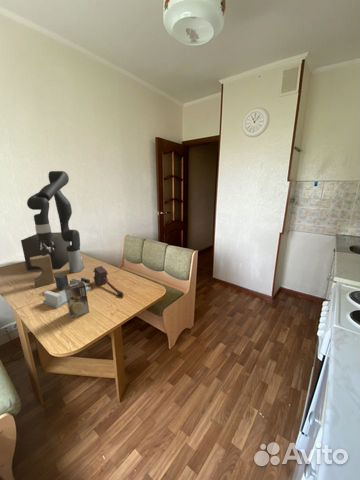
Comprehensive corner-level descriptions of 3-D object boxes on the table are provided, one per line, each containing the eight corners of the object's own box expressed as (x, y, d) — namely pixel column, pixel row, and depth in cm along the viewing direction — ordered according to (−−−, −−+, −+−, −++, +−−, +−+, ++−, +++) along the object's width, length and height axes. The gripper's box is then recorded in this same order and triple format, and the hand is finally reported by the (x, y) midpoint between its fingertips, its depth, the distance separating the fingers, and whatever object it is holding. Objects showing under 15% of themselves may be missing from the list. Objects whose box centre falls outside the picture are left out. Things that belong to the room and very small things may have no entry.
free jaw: (80, 282, 137) (80, 275, 136) (92, 285, 133) (91, 278, 131) (69, 287, 130) (68, 280, 128) (81, 291, 125) (80, 284, 124)
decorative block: (35, 287, 133) (29, 259, 127) (34, 284, 137) (29, 257, 132) (55, 282, 140) (50, 255, 134) (53, 280, 144) (48, 253, 139)
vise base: (77, 285, 136) (76, 276, 134) (90, 289, 131) (89, 280, 129) (43, 303, 115) (41, 293, 114) (57, 308, 111) (55, 297, 109)
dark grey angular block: (44, 259, 185) (39, 232, 178) (72, 258, 187) (68, 232, 181) (27, 270, 161) (20, 240, 154) (60, 268, 163) (55, 239, 157)
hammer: (102, 277, 146) (102, 265, 142) (127, 301, 126) (128, 288, 122) (93, 280, 141) (92, 268, 137) (118, 306, 121) (118, 293, 118)
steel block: (63, 285, 136) (61, 273, 133) (69, 287, 134) (67, 275, 131) (56, 289, 131) (54, 276, 129) (62, 290, 129) (59, 278, 127)
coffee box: (86, 306, 112) (83, 280, 108) (89, 312, 107) (85, 285, 103) (68, 312, 107) (64, 285, 103) (70, 318, 102) (65, 290, 98)
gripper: (57, 231, 120) (61, 256, 125) (42, 228, 126) (47, 253, 131) (44, 233, 114) (49, 260, 118) (30, 231, 120) (35, 256, 124)
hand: (48, 256), depth 125 cm, fingers open, 8 cm apart
